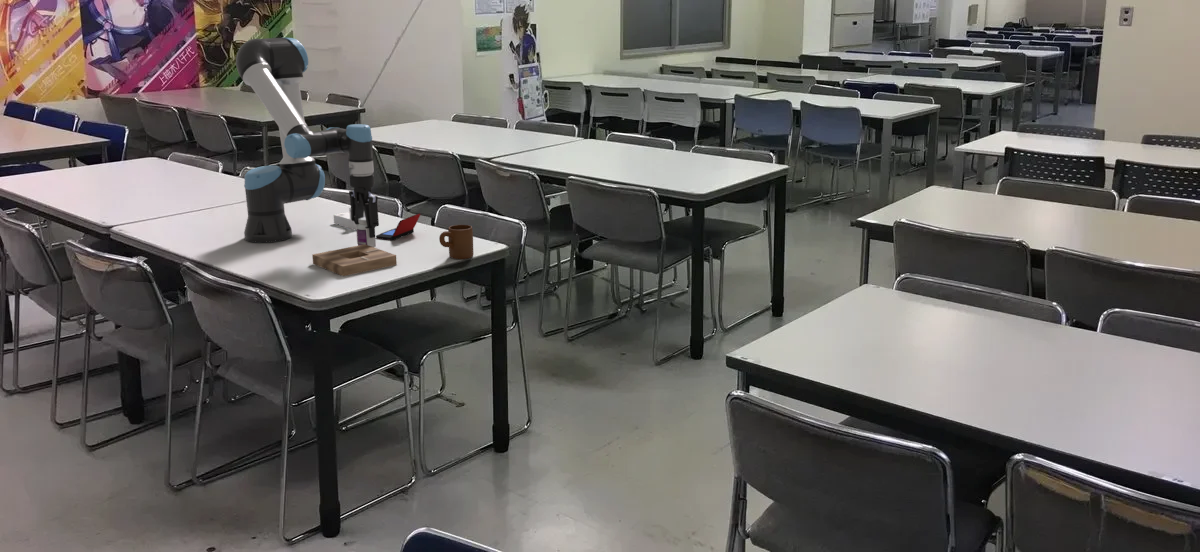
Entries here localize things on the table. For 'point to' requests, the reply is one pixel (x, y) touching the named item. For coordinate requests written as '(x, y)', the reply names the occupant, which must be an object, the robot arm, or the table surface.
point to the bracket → (345, 219)
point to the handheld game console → (400, 229)
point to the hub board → (354, 260)
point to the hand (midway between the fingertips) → (366, 245)
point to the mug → (458, 241)
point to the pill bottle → (362, 231)
